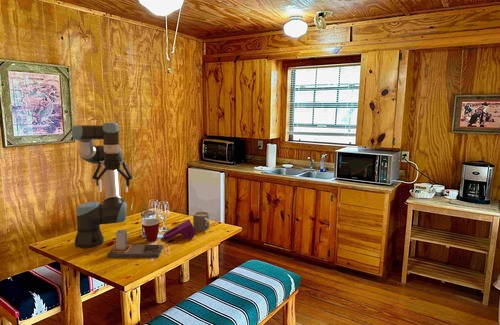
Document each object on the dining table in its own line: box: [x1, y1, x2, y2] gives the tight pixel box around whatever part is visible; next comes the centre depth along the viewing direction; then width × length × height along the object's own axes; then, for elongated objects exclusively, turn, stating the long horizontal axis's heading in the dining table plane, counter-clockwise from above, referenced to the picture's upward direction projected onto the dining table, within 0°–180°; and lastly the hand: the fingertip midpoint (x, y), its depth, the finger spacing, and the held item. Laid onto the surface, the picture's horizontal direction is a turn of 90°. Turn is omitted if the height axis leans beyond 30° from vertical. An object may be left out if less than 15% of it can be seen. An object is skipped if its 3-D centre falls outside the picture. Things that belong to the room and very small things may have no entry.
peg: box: [115, 229, 128, 251], centre depth 183 cm, size 4×4×12 cm
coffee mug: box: [192, 211, 210, 232], centre depth 221 cm, size 13×10×10 cm
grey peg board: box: [107, 244, 164, 258], centre depth 185 cm, size 26×12×2 cm, turn 93°
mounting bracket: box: [162, 219, 196, 241], centre depth 208 cm, size 9×8×18 cm
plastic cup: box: [141, 217, 161, 243], centre depth 201 cm, size 11×11×12 cm
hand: (113, 192), depth 182 cm, fingers open, 13 cm apart
